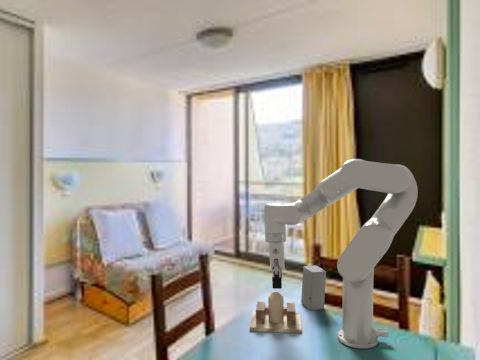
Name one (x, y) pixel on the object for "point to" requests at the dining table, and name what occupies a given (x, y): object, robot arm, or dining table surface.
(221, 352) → the dining table surface
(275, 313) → the candle
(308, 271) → the skincare box
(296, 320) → the holder
